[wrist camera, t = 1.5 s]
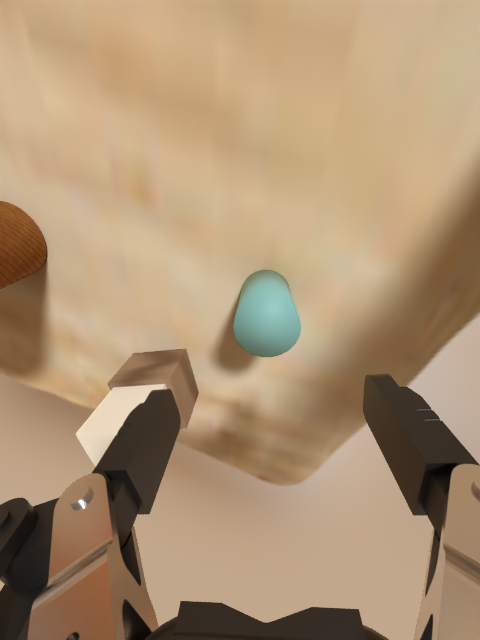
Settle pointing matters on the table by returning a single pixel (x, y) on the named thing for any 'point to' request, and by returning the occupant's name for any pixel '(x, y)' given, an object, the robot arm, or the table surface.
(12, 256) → the disposable coffee cup
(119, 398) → the cream block
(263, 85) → the table surface
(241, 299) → the teal capsule
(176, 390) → the walnut base block
